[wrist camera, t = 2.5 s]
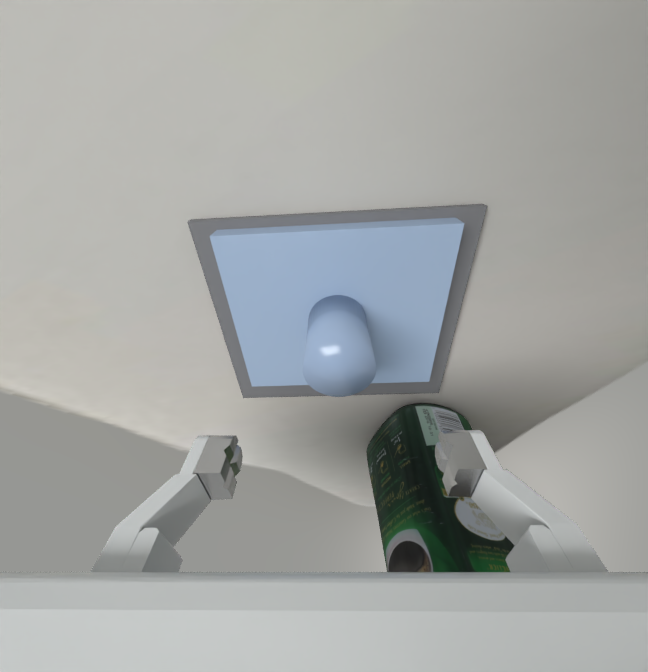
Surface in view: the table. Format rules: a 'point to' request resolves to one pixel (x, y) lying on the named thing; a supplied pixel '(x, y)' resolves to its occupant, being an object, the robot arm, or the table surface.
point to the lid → (339, 300)
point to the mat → (465, 213)
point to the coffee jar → (427, 500)
